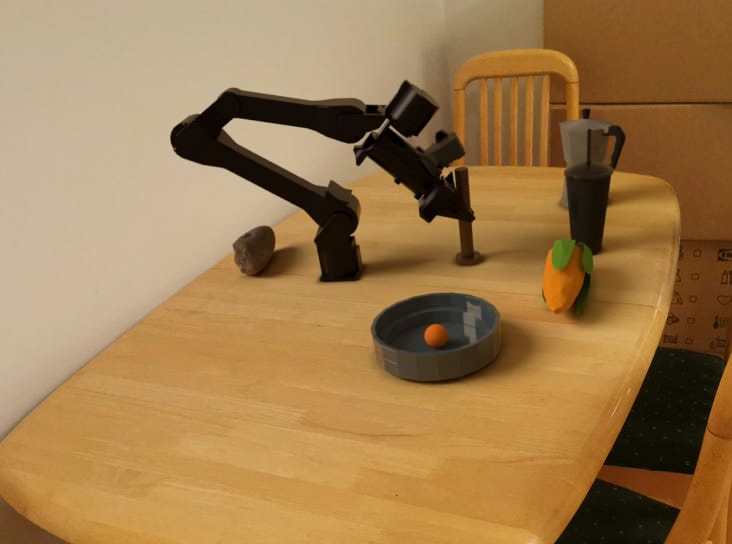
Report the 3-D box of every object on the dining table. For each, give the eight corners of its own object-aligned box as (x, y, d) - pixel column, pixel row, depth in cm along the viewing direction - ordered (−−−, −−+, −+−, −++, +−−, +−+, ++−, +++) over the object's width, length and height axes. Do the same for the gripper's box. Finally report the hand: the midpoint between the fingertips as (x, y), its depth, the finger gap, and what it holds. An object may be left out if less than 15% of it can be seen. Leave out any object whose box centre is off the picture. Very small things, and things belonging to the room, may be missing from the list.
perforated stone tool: (263, 248, 136) (255, 215, 132) (288, 248, 135) (281, 214, 131) (231, 281, 124) (222, 245, 120) (258, 281, 122) (249, 244, 119)
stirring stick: (454, 266, 118) (446, 173, 109) (456, 256, 121) (448, 165, 113) (480, 265, 117) (473, 171, 109) (481, 254, 120) (475, 163, 112)
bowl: (364, 385, 89) (359, 356, 87) (387, 321, 103) (383, 294, 101) (499, 383, 86) (497, 352, 83) (503, 318, 100) (501, 290, 98)
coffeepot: (542, 203, 139) (541, 110, 130) (574, 190, 143) (575, 100, 134) (605, 218, 128) (608, 118, 119) (637, 204, 132) (642, 106, 123)
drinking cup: (611, 258, 113) (616, 133, 103) (563, 259, 115) (563, 137, 104) (609, 240, 119) (613, 121, 109) (563, 242, 121) (564, 125, 111)
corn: (594, 224, 106) (587, 281, 89) (596, 270, 109) (590, 332, 93) (545, 228, 108) (530, 284, 92) (549, 273, 112) (535, 333, 96)
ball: (424, 352, 93) (421, 331, 91) (427, 340, 96) (424, 320, 94) (447, 352, 92) (445, 331, 91) (450, 340, 95) (448, 319, 93)
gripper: (433, 132, 99) (513, 198, 104) (430, 106, 115) (499, 164, 120) (386, 192, 104) (464, 252, 108) (389, 159, 120) (458, 213, 124)
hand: (473, 217), depth 115 cm, fingers closed on stirring stick, 2 cm apart
